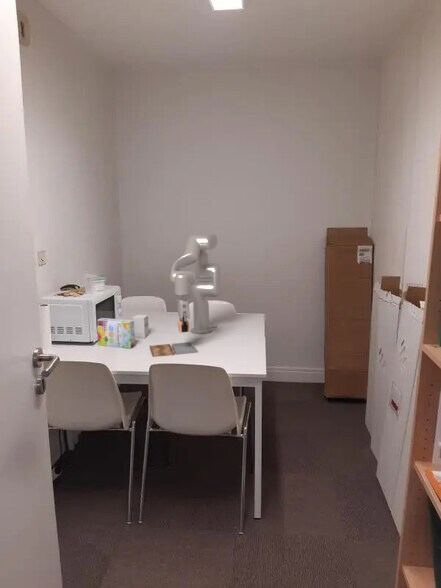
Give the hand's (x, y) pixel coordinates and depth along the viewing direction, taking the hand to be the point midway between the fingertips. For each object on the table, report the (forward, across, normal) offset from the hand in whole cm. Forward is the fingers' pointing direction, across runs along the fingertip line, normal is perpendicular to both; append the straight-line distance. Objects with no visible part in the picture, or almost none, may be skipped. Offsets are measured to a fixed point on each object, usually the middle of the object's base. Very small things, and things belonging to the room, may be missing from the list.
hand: (183, 329), depth 239 cm
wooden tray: (+11, -1, +12) cm, 17 cm away
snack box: (+12, +20, +35) cm, 42 cm away
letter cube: (+1, 0, 0) cm, 1 cm away
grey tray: (+12, -1, 0) cm, 12 cm away
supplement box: (+12, +34, +20) cm, 41 cm away
